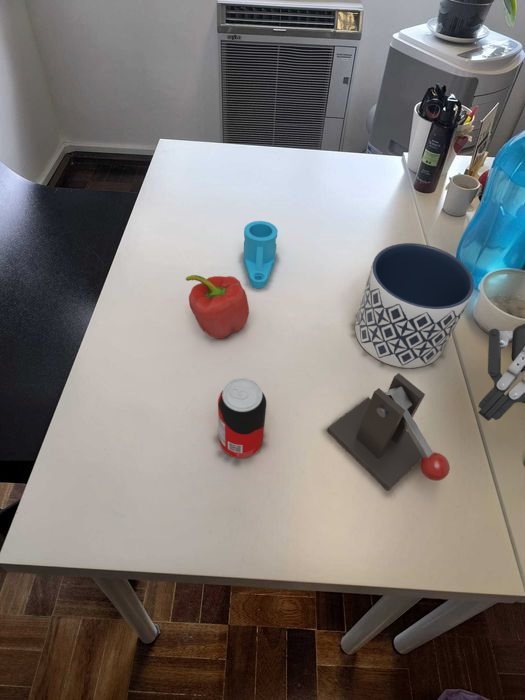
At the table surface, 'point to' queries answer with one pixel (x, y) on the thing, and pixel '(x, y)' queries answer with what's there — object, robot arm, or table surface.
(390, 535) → the table surface
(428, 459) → the tap lever
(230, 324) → the vegetable
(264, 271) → the bracket
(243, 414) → the beverage can
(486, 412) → the robot arm
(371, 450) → the grey lever stand
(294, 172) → the table surface
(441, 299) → the planter
